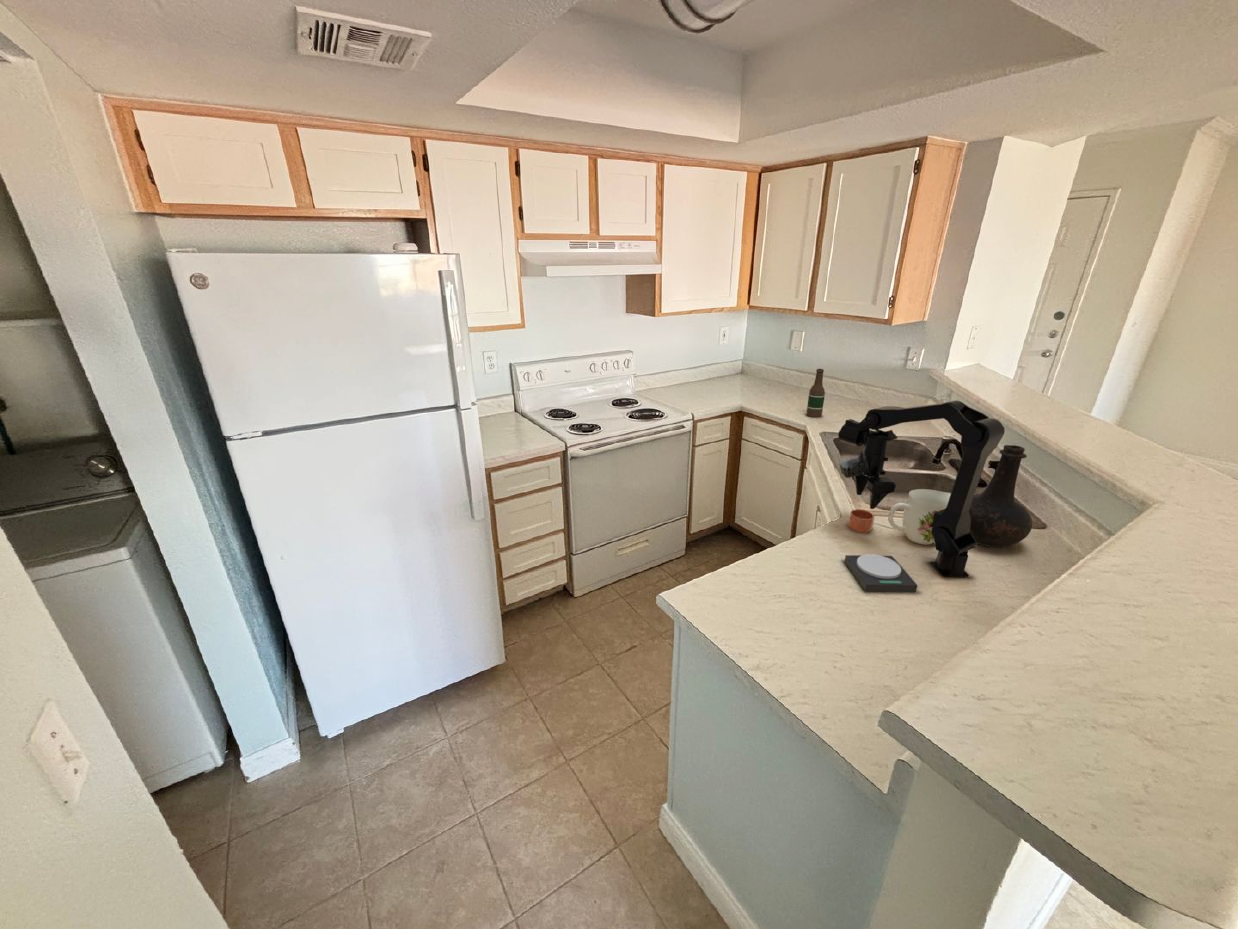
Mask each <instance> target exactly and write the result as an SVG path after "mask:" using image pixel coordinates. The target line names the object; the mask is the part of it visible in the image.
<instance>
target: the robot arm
mask: <svg viewBox="0 0 1238 929" xmlns="http://www.w3.org/2000/svg"><path fill="white" fill-rule="evenodd" d="M942 419H944V420H945V421H946V422H947V423H948V424H949V425H950V427H951V429H952V430H953V431H954V432H955V433H957V434H958V435H959V436H961V438H960V448H961V452H962V458H961V461H960V463H959V467H958V470H957V473H956V476H955V479H954V483H953V484H952V489H951V492H950V493H951V495H950V498H949V501H948V504H947V507H946V508H945V509H943V510H940V511H938V512H935V513H934V516H933V522H932V524H931V525H930V527H932V529H931V534H932V535H933V537H934V540H935V542H934V546H935V550H936V551H938V552H937V556H936V558H935V560H930V561H929V564H930V565H931V566H932V568H934V569H935V570H936V571H937V572H938V574H939V575H940V576H941V577H944V578H969V577H970V574H969V573H968V572H967V571H966V570H965V569H966V566H967V563H968V559H969V551H971V550H973V549H975V548H976V546H978V544H979V543H977V541H976V540H975V538H974V536H973V535H972V533H971V532H970V525H971V518H970V514H969V509H970V506H971V503H972V500H973V497H974V495H975V494H976V491H977V488H978V485H979V482H980V479H981V477H982V473H983V470H984V467H985V465H986V462H987V459H988V457H989V456H990V455H991V454H992V453H993V452H994V450H995V449H996V448H997V447H998V446H999V444H1000V442H1001V440H1002V438H1004V435H1005V431H1006V430H1005V427H1004V425H1003V424H1002V422H1001V421H1000V420H998V419H997V418H992V417H989V416H988V415H986V414H985V413H983V412H981V411H980V410H977V409H974V408H972V407H971V406H968V405H967V404H965V403H964V402H962V401H960V400H958V399H957V400H952V401H945V402H941V403H933V404H924V405H918V406H910V407H901V406H894V405H892V406H891V405H885V406H880V407H877V408H872V409H869V410H867V413H865V417H864V418H863V419H862V420H861V421H857V420H855V419H851V418H849V419H845V422H844V423H843V425H842V426H841V427H840V429H839V431H838V435H837V436H838V439H839V441H841V442H843V443H847V444H849V445H853V446H856V447H862V446H863V450H862V451H859V453H858V456H857V457H852V458H849V459H846V460H843V461H842V460H841V461H840V462H839V463H838V464H839V469H840V473H841V475H843V476H844V478H846V479H850V478H852V477H853V478H854V484H855V485H854V486H855V492H856V493H855V494H856V495H857V496H861V495H862V494H863V492H864V490H865V489H867V491H868V492H869V493H870V494H869V509H870V510H875V509H876V508H877V506H878V505H879V504H880V503H881V502H882V501H883V500H884V499H885V498H886V497H887V496H888V495H889V494H892V493H895V492H896V489H897V484H896V483H895V482H894V481H893V480H892V479H891V478H890V477H888V476H886V470H884V465H885V462H888V461H889V457H888V456H887V450H888V445H889V442H890V441H894V440H897V439H898V436H897V435H896V433H894V431H893V429H889V430H886V431H885V430H881V429H885V428H890V427H892V426H897V425H901V424H903V423H904V424H905V423H915V422H923V421H932V420H942Z"/></svg>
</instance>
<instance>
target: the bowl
mask: <svg viewBox="0 0 1238 929" xmlns="http://www.w3.org/2000/svg"><path fill="white" fill-rule="evenodd" d="M874 523H875V514H874V513H872V512H871V511H868V510H865V509H856V508H855V509H852V510H851V511H850V513H849V518H848V523H847V524H848V527H849V529H850V530H852V531H854V532H857V533H863V534H864V533H870V532H871V531H872V530H873V526H874Z"/></svg>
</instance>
